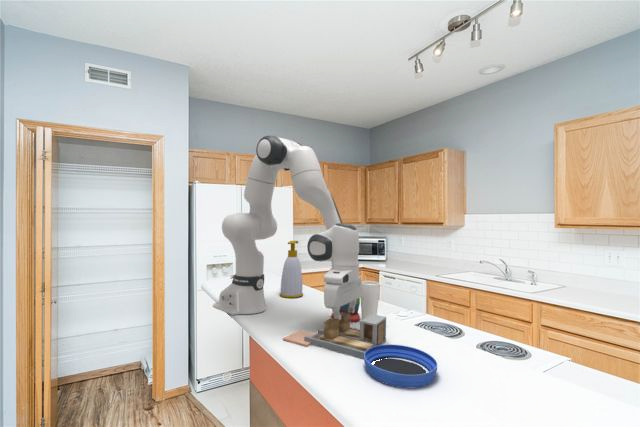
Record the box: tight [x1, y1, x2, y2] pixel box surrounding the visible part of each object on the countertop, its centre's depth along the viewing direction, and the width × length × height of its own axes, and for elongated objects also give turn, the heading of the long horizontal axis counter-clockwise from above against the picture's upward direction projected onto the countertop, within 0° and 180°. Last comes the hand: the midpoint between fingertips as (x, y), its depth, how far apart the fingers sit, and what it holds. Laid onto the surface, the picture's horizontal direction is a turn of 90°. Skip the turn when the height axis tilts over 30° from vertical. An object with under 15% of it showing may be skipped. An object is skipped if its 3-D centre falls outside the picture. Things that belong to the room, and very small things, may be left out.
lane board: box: [304, 314, 387, 360], centre depth 102 cm, size 20×16×8 cm
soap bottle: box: [279, 240, 304, 299], centre depth 159 cm, size 11×12×26 cm
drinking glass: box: [360, 280, 380, 320], centre depth 120 cm, size 7×7×15 cm
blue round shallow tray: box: [363, 343, 438, 388], centre depth 84 cm, size 18×18×4 cm
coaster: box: [282, 330, 320, 348], centre depth 103 cm, size 9×9×1 cm
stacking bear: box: [330, 297, 361, 323], centre depth 127 cm, size 11×10×18 cm
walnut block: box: [364, 322, 384, 341], centre depth 101 cm, size 6×4×4 cm
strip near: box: [319, 317, 374, 352], centre depth 98 cm, size 16×4×6 cm, turn 58°
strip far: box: [339, 312, 383, 345], centre depth 104 cm, size 16×4×6 cm, turn 58°
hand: (344, 316), depth 106 cm, fingers open, 8 cm apart
